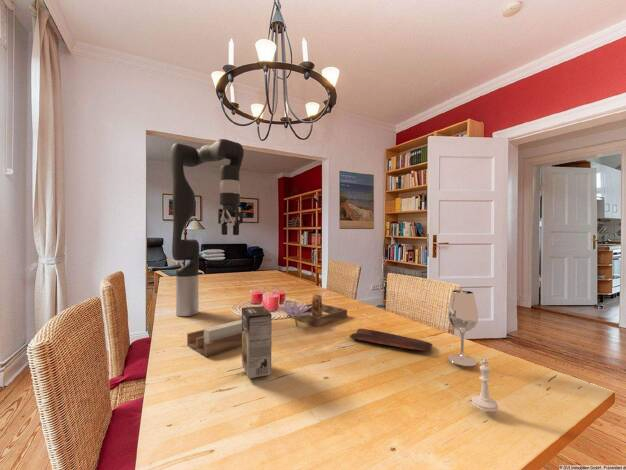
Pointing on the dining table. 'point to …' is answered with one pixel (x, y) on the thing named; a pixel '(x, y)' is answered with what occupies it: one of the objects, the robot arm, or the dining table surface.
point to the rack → (212, 343)
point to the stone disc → (317, 305)
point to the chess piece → (484, 391)
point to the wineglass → (462, 321)
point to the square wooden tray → (333, 316)
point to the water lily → (295, 310)
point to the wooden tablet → (391, 339)
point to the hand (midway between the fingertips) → (230, 235)
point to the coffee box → (256, 341)
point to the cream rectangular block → (222, 331)
